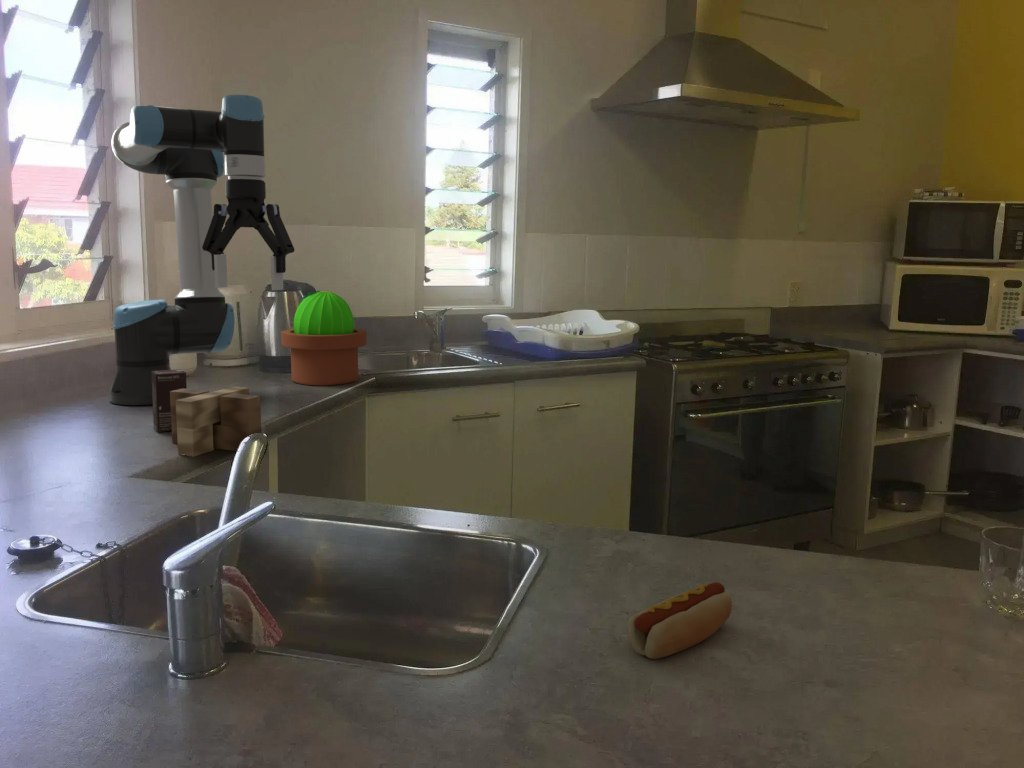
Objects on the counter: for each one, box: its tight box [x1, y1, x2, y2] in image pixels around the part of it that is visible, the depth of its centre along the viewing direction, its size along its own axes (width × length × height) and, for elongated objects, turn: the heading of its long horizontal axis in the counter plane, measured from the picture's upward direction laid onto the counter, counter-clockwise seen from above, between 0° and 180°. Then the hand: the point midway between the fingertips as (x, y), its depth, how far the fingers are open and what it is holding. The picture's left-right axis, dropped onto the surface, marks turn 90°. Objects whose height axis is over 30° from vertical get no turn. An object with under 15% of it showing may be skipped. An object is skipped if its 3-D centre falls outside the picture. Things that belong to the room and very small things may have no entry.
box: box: [151, 368, 188, 433], centre depth 178 cm, size 6×4×12 cm
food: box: [627, 581, 733, 660], centre depth 89 cm, size 14×6×5 cm, turn 134°
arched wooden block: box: [176, 386, 250, 458], centre depth 165 cm, size 16×4×10 cm, turn 158°
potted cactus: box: [280, 290, 368, 387], centre depth 238 cm, size 22×22×25 cm
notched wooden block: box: [170, 388, 262, 452], centre depth 165 cm, size 18×4×10 cm, turn 68°
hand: (249, 288), depth 174 cm, fingers open, 13 cm apart
